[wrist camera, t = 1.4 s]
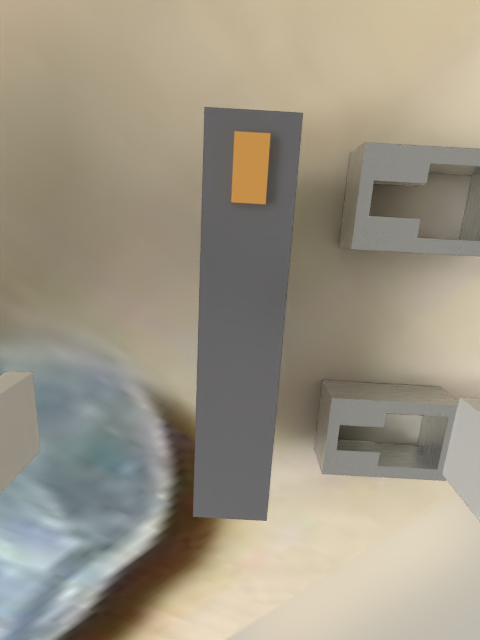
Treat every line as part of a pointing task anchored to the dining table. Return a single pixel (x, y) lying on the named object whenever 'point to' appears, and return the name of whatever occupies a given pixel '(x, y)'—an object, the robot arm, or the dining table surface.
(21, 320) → the dining table surface
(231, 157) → the grey rectangular bar
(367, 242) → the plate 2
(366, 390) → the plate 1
